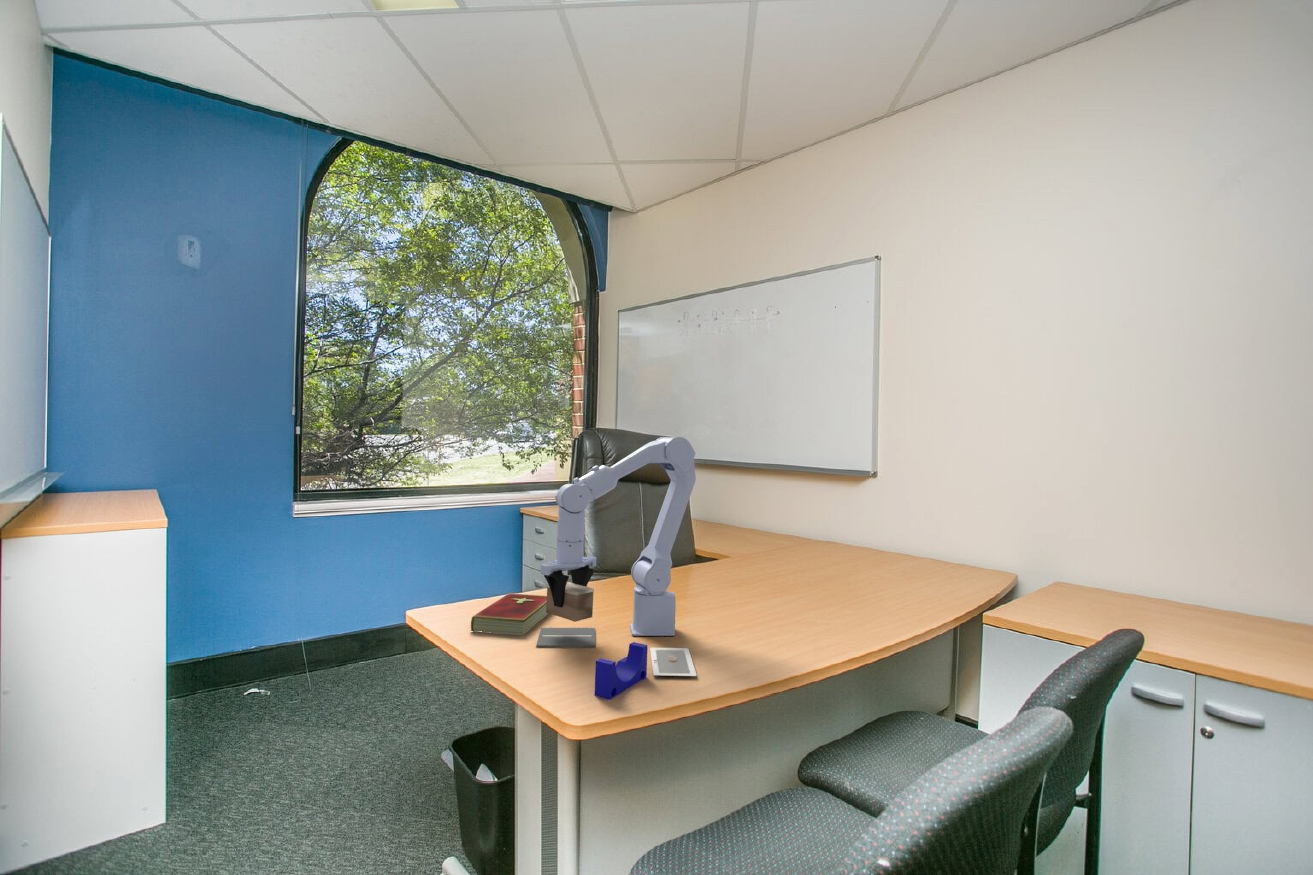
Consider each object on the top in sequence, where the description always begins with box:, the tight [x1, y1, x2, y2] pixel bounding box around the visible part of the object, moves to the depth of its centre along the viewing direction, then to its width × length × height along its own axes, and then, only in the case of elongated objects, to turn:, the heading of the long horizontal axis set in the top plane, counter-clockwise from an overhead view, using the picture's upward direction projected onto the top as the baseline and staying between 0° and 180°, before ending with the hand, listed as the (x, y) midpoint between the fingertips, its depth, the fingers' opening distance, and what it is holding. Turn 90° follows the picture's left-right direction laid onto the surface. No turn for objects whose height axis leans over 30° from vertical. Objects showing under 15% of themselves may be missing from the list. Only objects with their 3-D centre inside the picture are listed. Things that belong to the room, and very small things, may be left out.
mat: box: [535, 627, 597, 648], centre depth 134 cm, size 12×12×1 cm
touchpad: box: [649, 647, 698, 677], centre depth 120 cm, size 8×15×2 cm, turn 3°
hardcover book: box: [470, 592, 549, 636], centre depth 145 cm, size 12×21×4 cm, turn 172°
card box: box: [546, 581, 595, 623], centre depth 134 cm, size 5×9×6 cm, turn 51°
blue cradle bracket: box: [594, 641, 649, 701], centre depth 109 cm, size 12×4×6 cm, turn 150°
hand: (568, 603), depth 134 cm, fingers closed on card box, 5 cm apart
